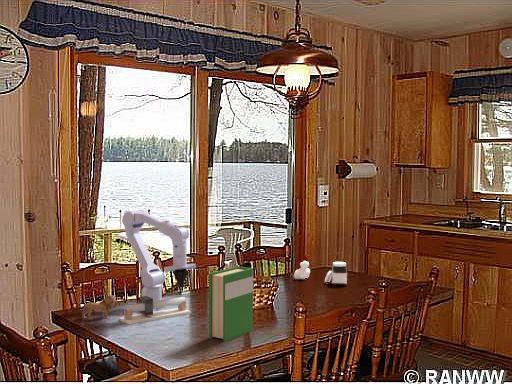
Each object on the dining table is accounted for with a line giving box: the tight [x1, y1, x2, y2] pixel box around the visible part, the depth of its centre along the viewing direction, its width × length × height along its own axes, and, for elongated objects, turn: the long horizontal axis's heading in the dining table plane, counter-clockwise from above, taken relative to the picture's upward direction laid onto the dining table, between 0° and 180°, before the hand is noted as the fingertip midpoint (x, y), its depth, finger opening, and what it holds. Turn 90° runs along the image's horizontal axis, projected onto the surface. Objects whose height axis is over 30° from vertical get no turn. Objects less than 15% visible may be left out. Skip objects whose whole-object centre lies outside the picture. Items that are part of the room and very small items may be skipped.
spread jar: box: [324, 261, 348, 286], centre depth 319 cm, size 12×11×12 cm
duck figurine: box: [293, 260, 311, 280], centre depth 333 cm, size 12×8×11 cm
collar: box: [138, 295, 154, 316], centre depth 249 cm, size 6×3×7 cm, turn 38°
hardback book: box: [208, 266, 254, 342], centre depth 227 cm, size 18×7×24 cm, turn 146°
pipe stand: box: [119, 296, 192, 325], centre depth 251 cm, size 8×29×6 cm, turn 128°
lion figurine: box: [79, 294, 116, 321], centre depth 249 cm, size 15×5×9 cm, turn 118°
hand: (180, 286), depth 261 cm, fingers closed
